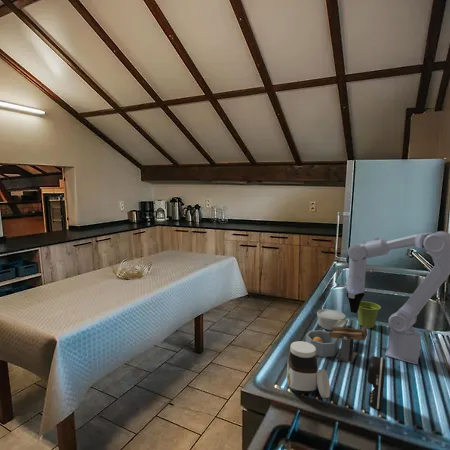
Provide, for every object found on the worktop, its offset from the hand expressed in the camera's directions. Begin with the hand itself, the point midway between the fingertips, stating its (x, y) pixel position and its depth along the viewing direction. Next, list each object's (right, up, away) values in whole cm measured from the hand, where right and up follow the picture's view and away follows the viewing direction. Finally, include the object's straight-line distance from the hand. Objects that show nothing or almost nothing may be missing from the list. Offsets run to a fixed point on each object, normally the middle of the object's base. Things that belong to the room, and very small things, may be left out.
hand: (354, 312), depth 120 cm
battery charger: (-9, -14, -35) cm, 39 cm away
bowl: (-14, -11, -7) cm, 20 cm away
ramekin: (-5, -9, +12) cm, 16 cm away
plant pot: (+11, -10, +14) cm, 20 cm away
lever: (-4, -4, -8) cm, 10 cm away
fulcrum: (-7, -12, -12) cm, 18 cm away
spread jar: (-25, -13, -30) cm, 42 cm away
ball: (-16, -9, -7) cm, 19 cm away
